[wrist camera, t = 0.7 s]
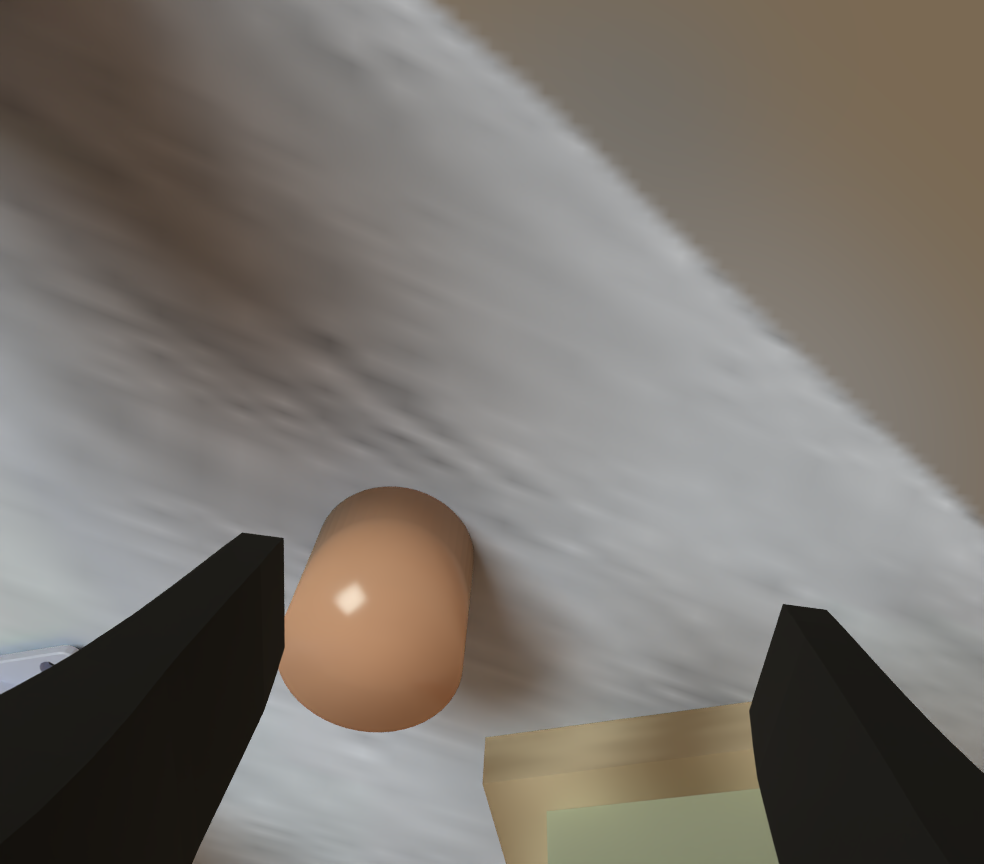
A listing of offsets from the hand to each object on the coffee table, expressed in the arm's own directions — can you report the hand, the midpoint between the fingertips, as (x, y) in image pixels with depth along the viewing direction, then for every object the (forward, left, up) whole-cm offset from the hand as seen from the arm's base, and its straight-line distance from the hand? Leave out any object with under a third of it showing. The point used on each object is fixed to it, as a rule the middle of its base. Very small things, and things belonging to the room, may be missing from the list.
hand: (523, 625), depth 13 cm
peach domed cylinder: (-5, -5, -10) cm, 12 cm away
